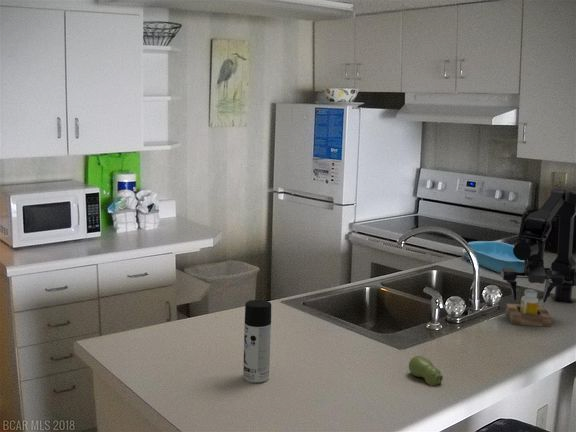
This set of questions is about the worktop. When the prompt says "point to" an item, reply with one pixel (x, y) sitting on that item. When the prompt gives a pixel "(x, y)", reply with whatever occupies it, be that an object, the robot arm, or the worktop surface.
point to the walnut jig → (528, 316)
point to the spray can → (257, 341)
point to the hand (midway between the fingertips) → (529, 301)
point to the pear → (425, 370)
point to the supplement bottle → (529, 302)
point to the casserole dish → (496, 255)
